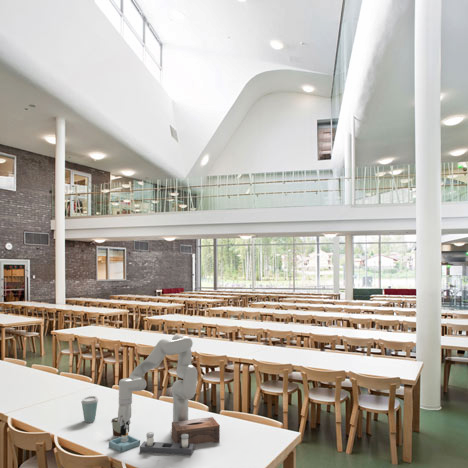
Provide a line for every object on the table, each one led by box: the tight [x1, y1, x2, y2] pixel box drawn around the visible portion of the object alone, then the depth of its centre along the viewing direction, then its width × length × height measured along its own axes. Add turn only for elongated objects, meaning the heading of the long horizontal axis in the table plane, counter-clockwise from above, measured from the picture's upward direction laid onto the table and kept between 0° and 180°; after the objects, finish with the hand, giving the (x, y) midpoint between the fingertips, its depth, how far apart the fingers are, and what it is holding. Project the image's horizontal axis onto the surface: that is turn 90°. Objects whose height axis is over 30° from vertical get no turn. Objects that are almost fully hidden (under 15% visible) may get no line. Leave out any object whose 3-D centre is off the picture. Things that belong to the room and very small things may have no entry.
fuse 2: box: [181, 434, 189, 448], centre depth 235 cm, size 4×4×9 cm
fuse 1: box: [146, 431, 155, 447], centre depth 238 cm, size 4×4×9 cm
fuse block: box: [139, 441, 195, 456], centre depth 236 cm, size 29×7×4 cm, turn 83°
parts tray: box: [108, 434, 141, 453], centre depth 244 cm, size 13×13×4 cm
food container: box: [111, 416, 131, 438], centre depth 261 cm, size 12×6×10 cm, turn 74°
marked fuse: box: [121, 424, 129, 443], centre depth 244 cm, size 4×4×9 cm
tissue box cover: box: [171, 416, 221, 445], centre depth 253 cm, size 26×14×10 cm, turn 110°
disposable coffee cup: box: [81, 395, 99, 423], centre depth 285 cm, size 11×11×15 cm
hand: (124, 433), depth 244 cm, fingers closed on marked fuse, 4 cm apart
